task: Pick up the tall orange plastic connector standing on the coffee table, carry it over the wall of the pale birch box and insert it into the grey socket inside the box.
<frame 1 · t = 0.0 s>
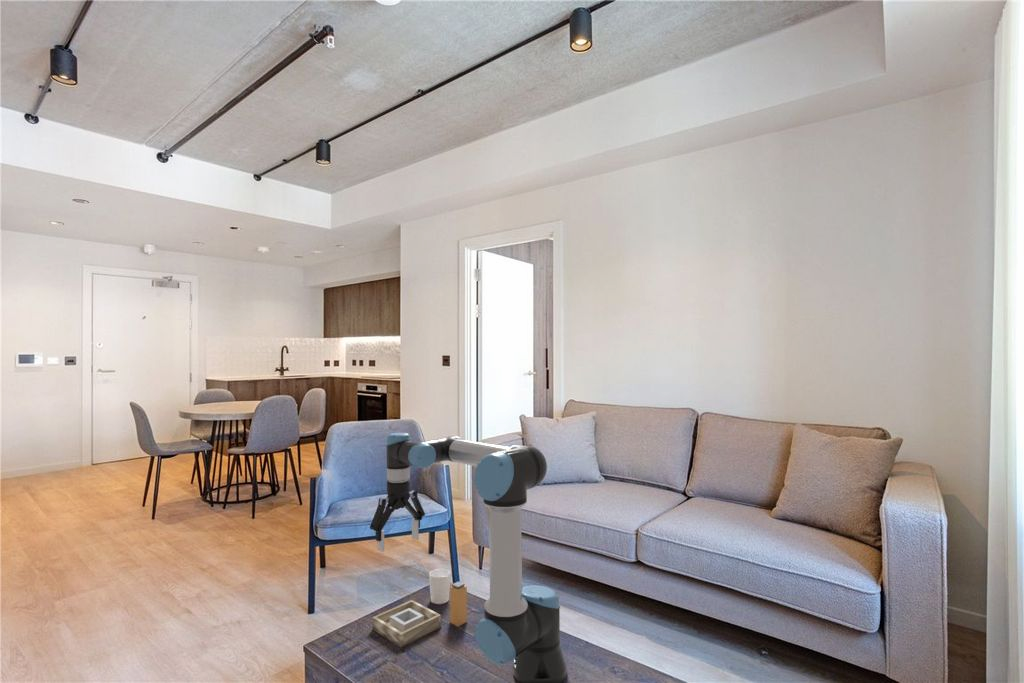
hand: (398, 544, 170), 28 cm above the table, fingers open, 13 cm apart
white cup: (439, 600, 189), on the table
socket: (406, 620, 170), in the box, point 2 cm above the table
connector: (458, 622, 173), on the table
box: (406, 628, 170), on the table
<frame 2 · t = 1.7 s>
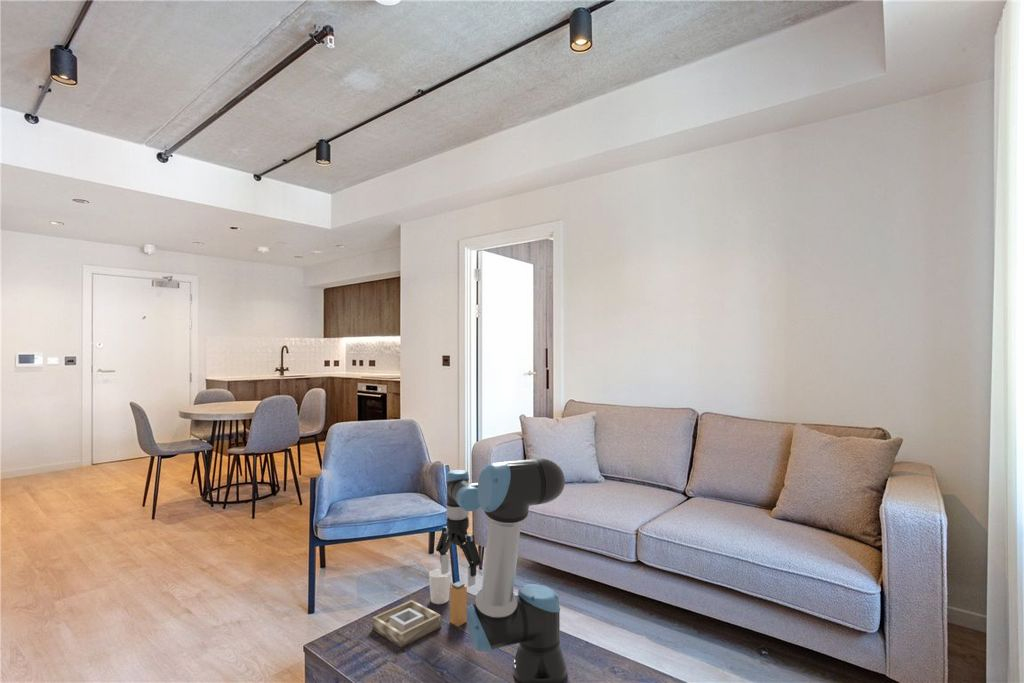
hand: (457, 579, 174), 14 cm above the table, fingers open, 13 cm apart
nothing on the table moved.
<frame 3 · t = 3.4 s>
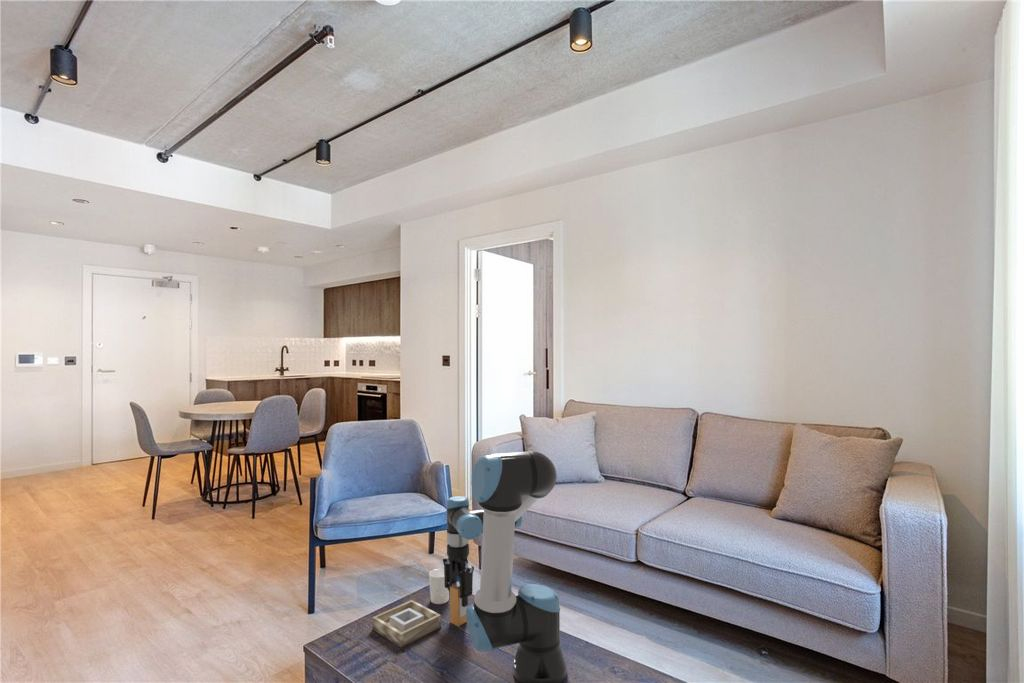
hand: (458, 612, 173), 3 cm above the table, fingers closed on connector, 4 cm apart
connector: (458, 622, 173), on the table, touching gripper
everything else where it was.
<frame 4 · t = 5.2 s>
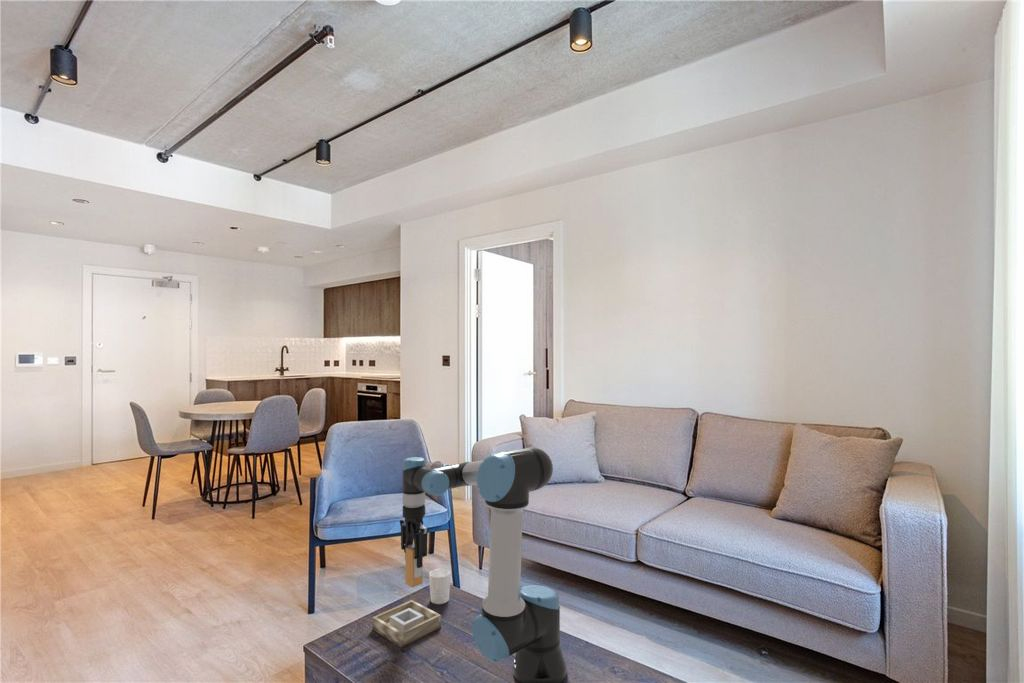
hand: (413, 574, 171), 17 cm above the table, fingers closed on connector, 4 cm apart
connector: (413, 583, 171), point 14 cm above the table, touching gripper
everything else where it was.
when the fingers open (6 cm above the table, at t = 7.2 s): connector drops 1 cm, resting on box.
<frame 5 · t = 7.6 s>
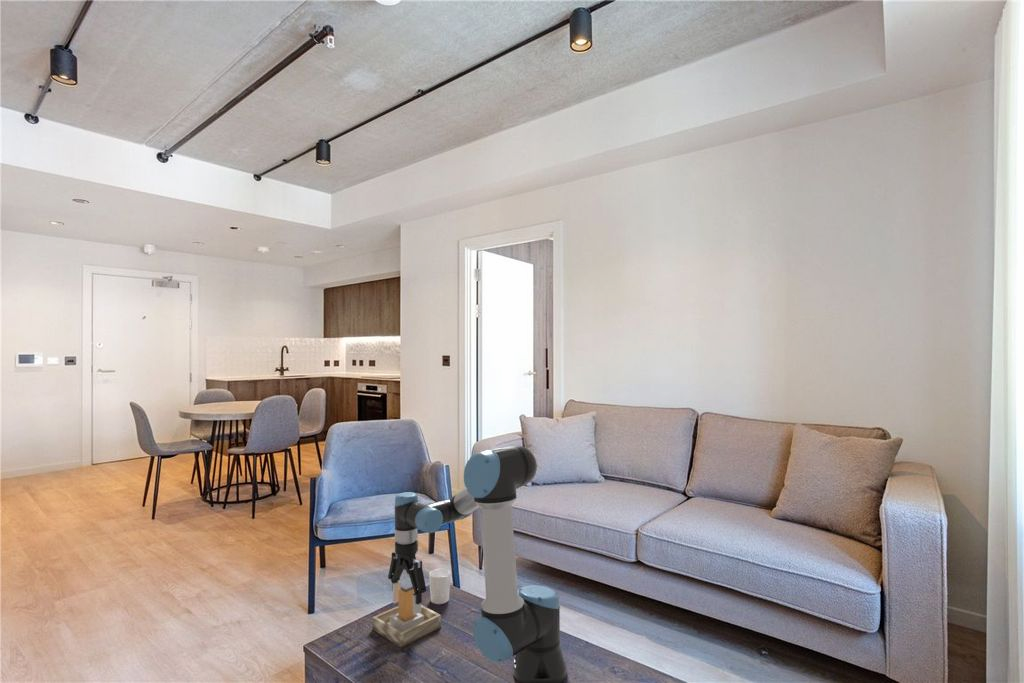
hand: (406, 607, 170), 7 cm above the table, fingers open, 10 cm apart
connector: (407, 625, 170), point 1 cm above the table, touching box
everything else where it was.
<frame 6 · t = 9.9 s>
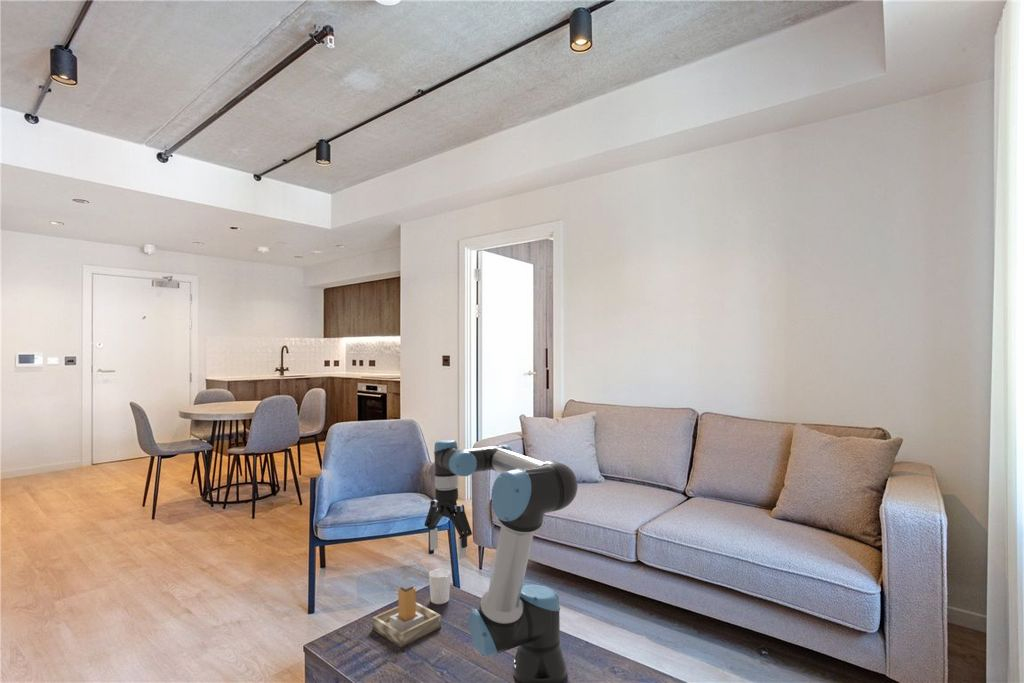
hand: (448, 553, 168), 26 cm above the table, fingers open, 13 cm apart
nothing on the table moved.
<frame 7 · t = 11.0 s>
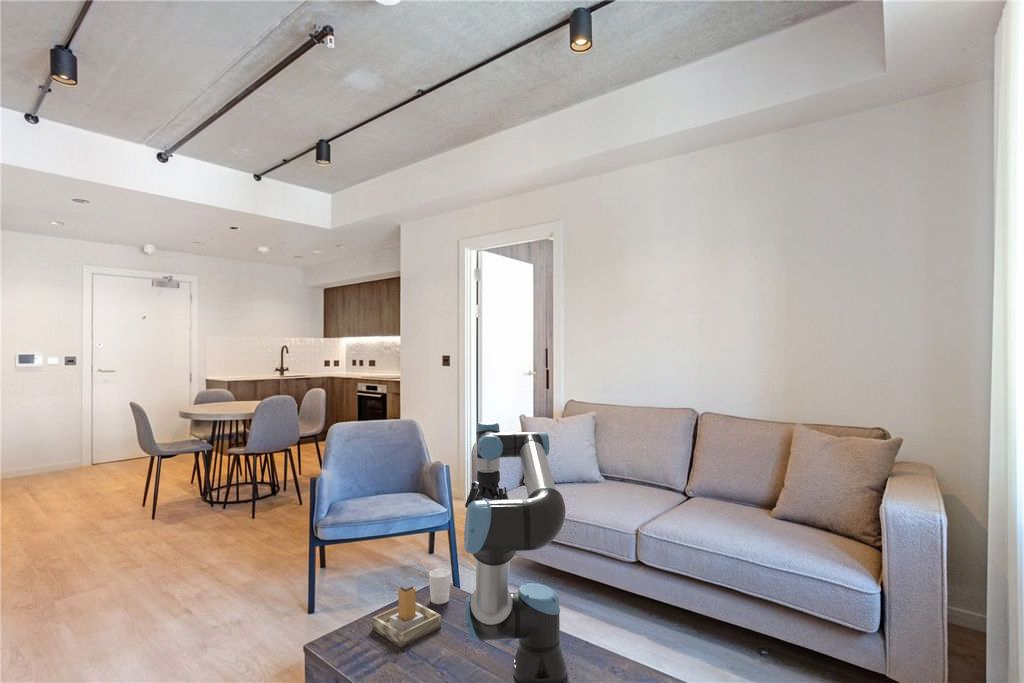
hand: (488, 535, 167), 32 cm above the table, fingers open, 13 cm apart
nothing on the table moved.
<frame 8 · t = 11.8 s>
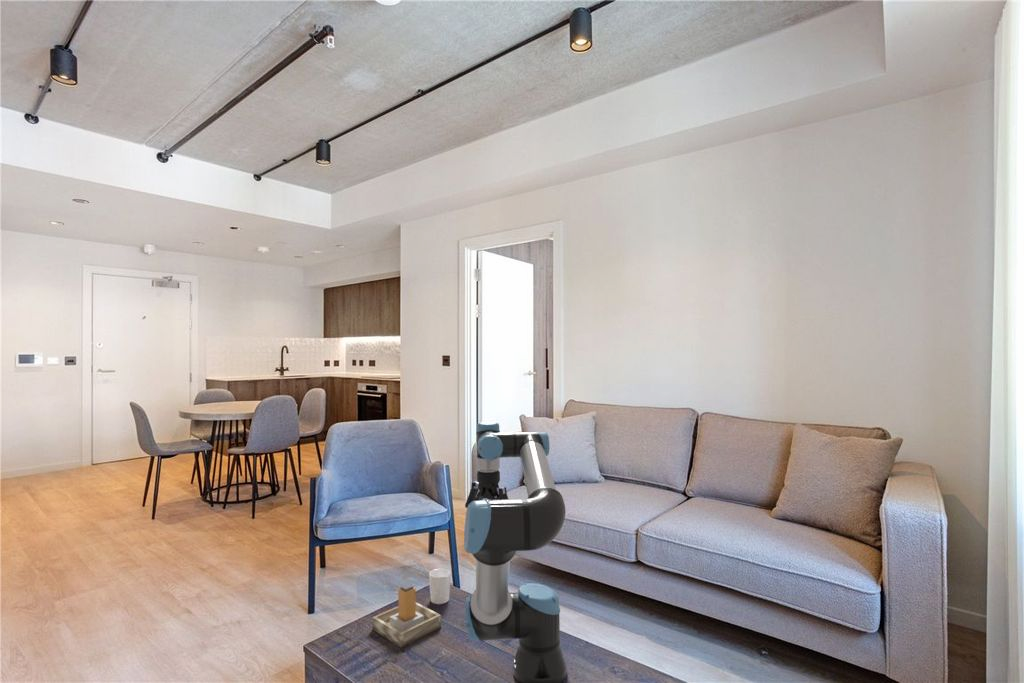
hand: (489, 535, 167), 32 cm above the table, fingers open, 13 cm apart
nothing on the table moved.
at the end: connector 0.1 cm off-centre on the socket, point 1.0 cm above the socket's base; connector tilted 0°; the gripper is holding nothing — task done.
